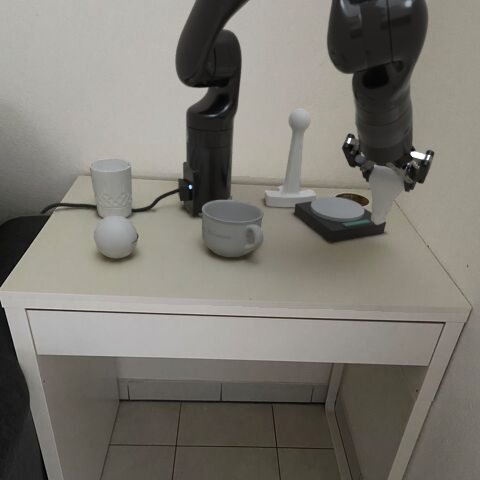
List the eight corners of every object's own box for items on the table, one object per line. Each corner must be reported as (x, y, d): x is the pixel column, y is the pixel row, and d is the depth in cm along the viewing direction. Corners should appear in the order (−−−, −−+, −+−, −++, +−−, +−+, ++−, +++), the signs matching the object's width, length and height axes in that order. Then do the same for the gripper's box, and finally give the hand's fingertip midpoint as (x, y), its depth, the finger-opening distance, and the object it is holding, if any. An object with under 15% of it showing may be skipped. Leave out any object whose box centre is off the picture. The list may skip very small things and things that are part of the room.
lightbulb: (395, 233, 84) (412, 170, 78) (359, 228, 85) (373, 165, 78) (393, 219, 89) (409, 158, 83) (359, 214, 90) (373, 154, 83)
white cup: (131, 204, 105) (128, 157, 99) (137, 219, 99) (133, 170, 93) (93, 207, 103) (87, 159, 97) (97, 222, 97) (90, 172, 91)
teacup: (193, 240, 93) (193, 200, 88) (246, 233, 97) (248, 194, 92) (220, 277, 83) (222, 233, 78) (278, 267, 86) (282, 225, 82)
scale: (330, 242, 95) (332, 227, 94) (294, 214, 106) (295, 199, 104) (383, 233, 100) (387, 218, 98) (344, 206, 110) (346, 193, 109)
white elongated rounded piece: (131, 268, 83) (127, 228, 79) (89, 263, 84) (83, 223, 80) (149, 242, 91) (147, 205, 87) (111, 237, 92) (107, 200, 88)
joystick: (267, 207, 108) (276, 110, 96) (260, 194, 114) (268, 101, 102) (316, 206, 109) (330, 111, 98) (307, 193, 115) (319, 102, 104)
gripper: (446, 108, 66) (440, 172, 82) (346, 91, 72) (358, 154, 87) (425, 157, 65) (423, 212, 81) (325, 136, 71) (341, 191, 86)
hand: (389, 182), depth 84 cm, fingers closed on lightbulb, 6 cm apart
